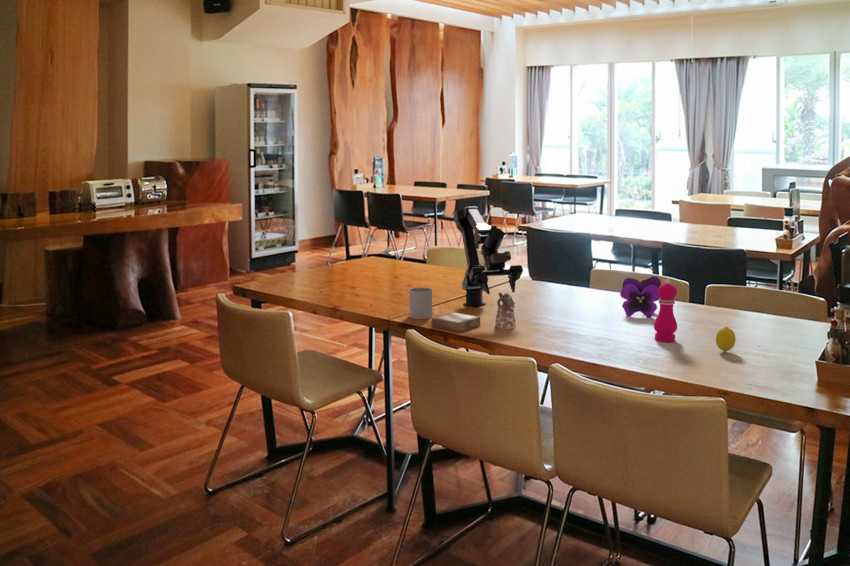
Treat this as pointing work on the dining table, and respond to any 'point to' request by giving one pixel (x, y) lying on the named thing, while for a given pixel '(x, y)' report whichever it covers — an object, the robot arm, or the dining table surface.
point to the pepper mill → (666, 313)
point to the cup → (420, 303)
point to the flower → (640, 296)
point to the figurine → (505, 312)
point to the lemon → (725, 339)
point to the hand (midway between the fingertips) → (501, 292)
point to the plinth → (455, 321)
